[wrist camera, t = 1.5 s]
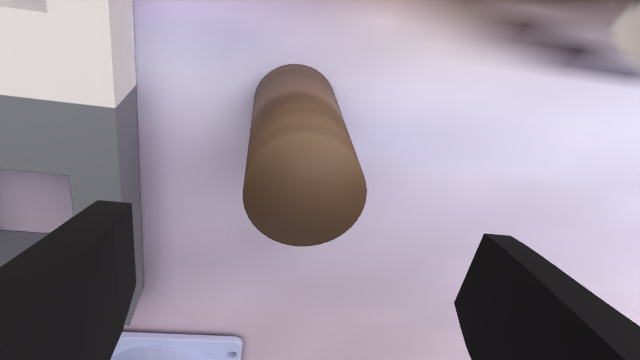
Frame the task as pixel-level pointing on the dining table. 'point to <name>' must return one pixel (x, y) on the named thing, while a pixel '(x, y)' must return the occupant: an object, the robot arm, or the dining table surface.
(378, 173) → the dining table surface
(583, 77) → the dining table surface
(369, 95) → the dining table surface
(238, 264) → the dining table surface
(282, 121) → the walnut pin
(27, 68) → the white grey peg board
